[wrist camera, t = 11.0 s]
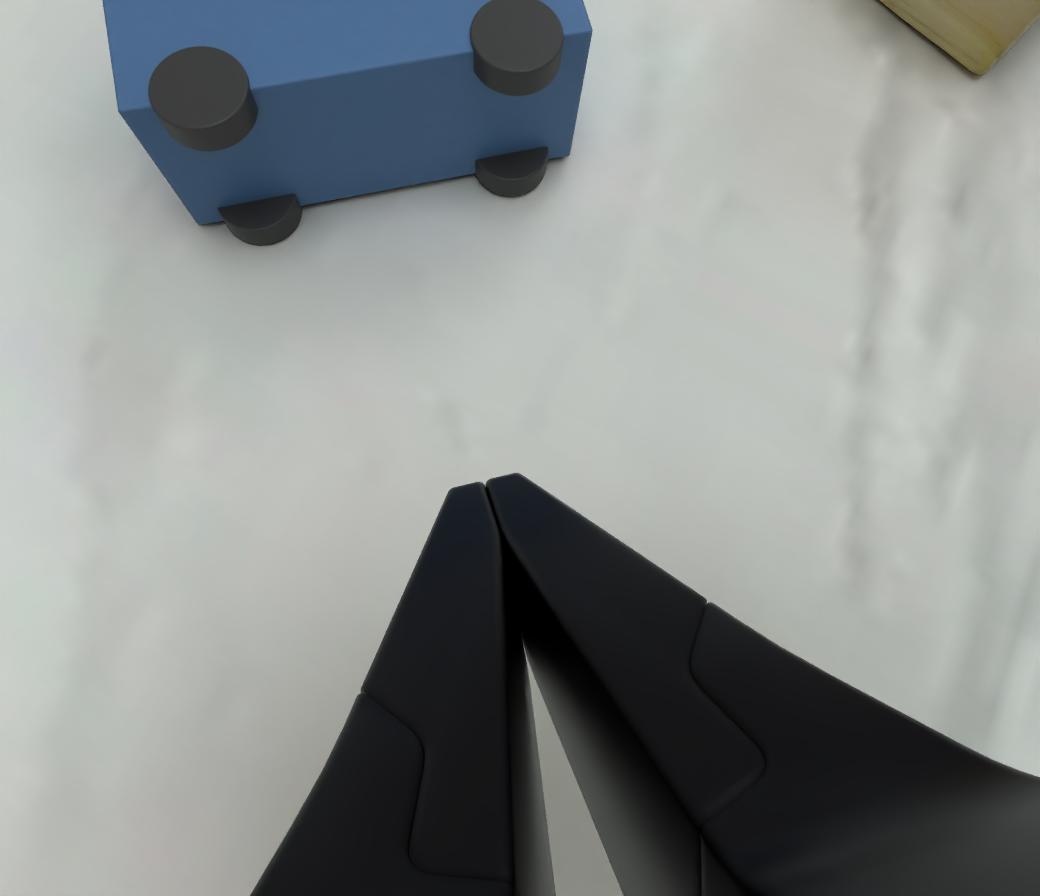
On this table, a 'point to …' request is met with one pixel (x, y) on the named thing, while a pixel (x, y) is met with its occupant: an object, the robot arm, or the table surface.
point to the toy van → (343, 97)
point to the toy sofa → (970, 26)
